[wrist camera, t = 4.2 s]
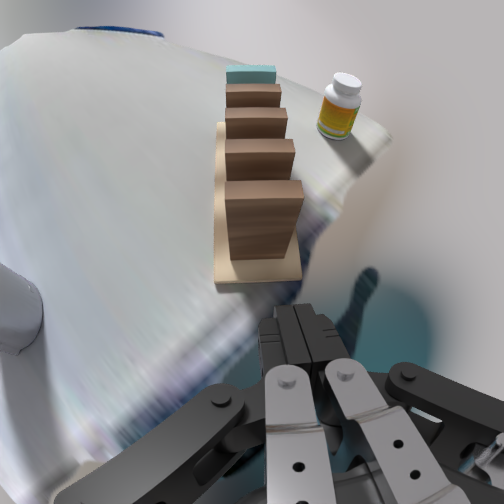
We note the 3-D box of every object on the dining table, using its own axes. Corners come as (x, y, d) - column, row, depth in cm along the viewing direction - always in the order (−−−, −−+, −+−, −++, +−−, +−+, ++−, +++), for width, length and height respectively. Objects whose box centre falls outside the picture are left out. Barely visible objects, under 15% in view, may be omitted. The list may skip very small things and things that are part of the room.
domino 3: (276, 188, 33) (287, 118, 23) (229, 190, 33) (225, 118, 23) (274, 178, 34) (285, 107, 24) (228, 179, 34) (225, 108, 24)
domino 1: (269, 138, 37) (276, 71, 27) (228, 138, 37) (226, 71, 27) (268, 130, 38) (274, 65, 28) (228, 131, 38) (226, 65, 27)
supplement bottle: (349, 144, 39) (368, 94, 30) (314, 135, 39) (328, 83, 30) (349, 123, 41) (365, 76, 32) (317, 115, 41) (329, 66, 32)
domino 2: (272, 161, 35) (281, 91, 25) (228, 162, 35) (225, 91, 25) (271, 152, 36) (279, 84, 26) (228, 153, 36) (225, 84, 26)
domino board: (300, 280, 30) (302, 277, 29) (214, 283, 29) (213, 281, 29) (277, 125, 40) (278, 121, 39) (217, 126, 39) (217, 122, 38)
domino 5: (284, 258, 30) (304, 197, 20) (230, 260, 30) (224, 199, 19) (282, 244, 30) (300, 180, 20) (229, 246, 30) (224, 181, 20)
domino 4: (279, 221, 32) (295, 152, 22) (229, 222, 31) (224, 153, 21) (278, 209, 32) (292, 139, 22) (229, 210, 32) (224, 139, 22)
